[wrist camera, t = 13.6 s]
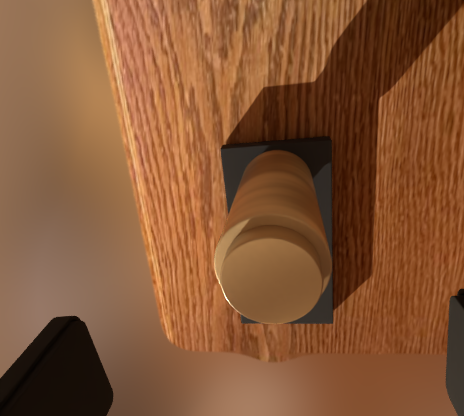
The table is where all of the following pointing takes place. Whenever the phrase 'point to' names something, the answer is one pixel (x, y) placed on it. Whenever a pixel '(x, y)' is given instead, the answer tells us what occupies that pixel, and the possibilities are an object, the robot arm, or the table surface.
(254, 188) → the bottle
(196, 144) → the table surface
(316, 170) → the mat
